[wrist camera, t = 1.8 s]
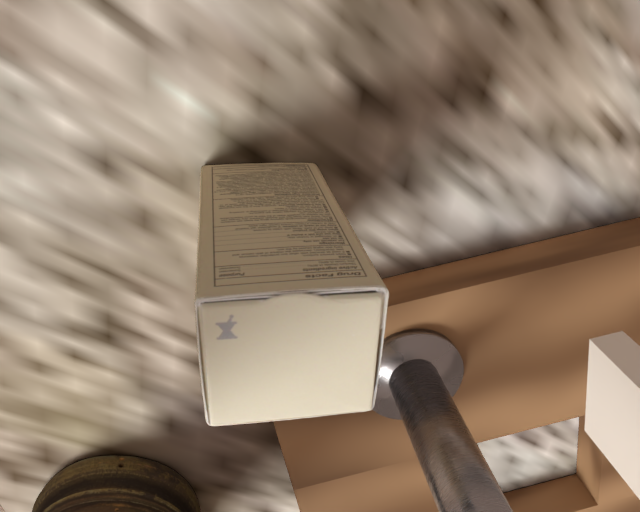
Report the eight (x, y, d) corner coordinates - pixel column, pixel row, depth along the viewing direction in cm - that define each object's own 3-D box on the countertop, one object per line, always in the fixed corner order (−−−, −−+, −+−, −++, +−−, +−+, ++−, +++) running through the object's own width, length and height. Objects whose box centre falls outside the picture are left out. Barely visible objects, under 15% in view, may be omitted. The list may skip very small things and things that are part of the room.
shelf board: (246, 311, 27) (248, 340, 25) (674, 208, 28) (712, 227, 26) (328, 588, 38) (334, 625, 35) (634, 506, 39) (658, 537, 37)
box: (205, 253, 25) (193, 432, 15) (199, 161, 23) (182, 297, 13) (320, 249, 26) (378, 417, 16) (324, 160, 24) (392, 288, 14)
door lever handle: (351, 343, 26) (441, 604, 15) (543, 296, 26) (762, 516, 15) (366, 421, 28) (454, 695, 17) (542, 377, 28) (732, 616, 18)
